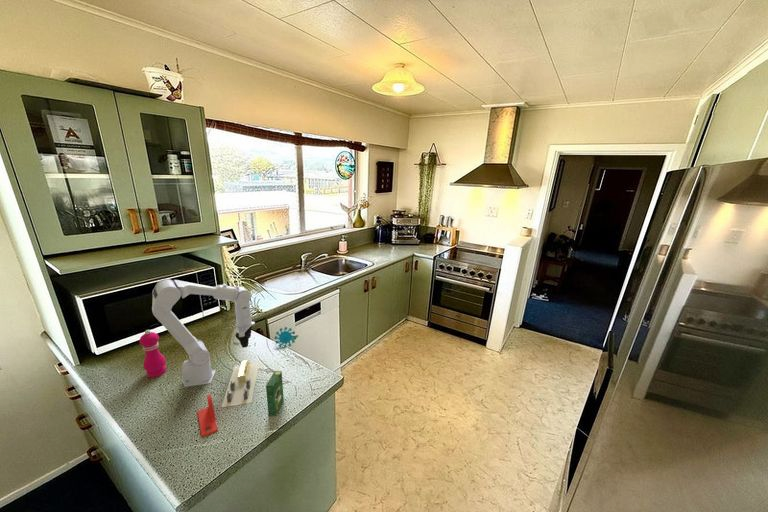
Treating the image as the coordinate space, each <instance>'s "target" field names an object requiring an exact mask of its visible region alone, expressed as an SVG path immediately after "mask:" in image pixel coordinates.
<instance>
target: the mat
mask: <svg viewBox="0 0 768 512" xmlns="http://www.w3.org/2000/svg"><path fill="white" fill-rule="evenodd" d="M240 367H241V364H240V365H239V364H238V365H234V367H233V370H232V372H231V373H232V374H231V376H230V380H229V382H228V385H227V388H226V392H225V395H224V397H223V401H222V404H221V408H226V407H232V406H238V405H246V404H250V403H252V401H253V396H254V393H255V392H254V391H255V388H256V387H255V386H256V383H257V377H258V371H259V367H260V362H257V363H256V362H255V363H250V369H249V373H248V377H247V379H248V378H249V379H250V380H251V386H250V389H248V393H249V395H248V399H246V400H244V395H243V394H244V389H246V382H245V383H238V374H239V370H240ZM231 381H235V386H236V387H235V390H234V391H232V396H233V397H232V400H231V402H227V392H228V391H231V389H230V384H231V383H230V382H231Z"/></svg>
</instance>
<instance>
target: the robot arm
mask: <svg viewBox="0 0 768 512" xmlns="http://www.w3.org/2000/svg"><path fill="white" fill-rule="evenodd" d="M189 295H201V296H212V297H213V298H214V299H215V300H221V301H228V302H229V301H230V302H234V312H235V318H236V329H237V331H238V332H236V333H235V336H234V337H235V338H236V339H237V340H238V341H239V343H240V345H241V348H248V347H249V339H250V338H251V336H252V330H253V329H252V328H253V326H255V324H256V322H255V321H254V320H252V315H251V314H252V312H251V303H250V301H251V298H252V295H251V293H250V292H249V290H247V289H246V288H245V287H243V286H241V285H236V286H232V285H231V286H230V285H227V284H226V283H222V284H217V285H215V286H210V285H205V284H199V283H195V282H189V281H184V280H179V279H173V280H172V279H170V278H169V279H168V278H164V279H161V280H159V281H158V282H157V283H156V284H155V286H154V288H153V289H152V302H151V303H152V306H151V311H152V315H153V316H154V317H155V318H156V320H157V321H158V322H159V323H161V325H162V326H163V328H165V329H166V330H167V331H168V333H169V334H171V336H172V337H173V338H174V339H175V340H176V342H178V343H179V345H181V346H182V348H183V349H184V350H185V352H186V353H187V355H188V356H189V358H188V359H187V360H184V361H183V362H182V366H181V376H182V379H183V380H182V381H183V388H188V387H193V386H202V385H208V384H209V385H210V384H211V383H212V381H213V378H214V376H215V373H216V369H212V363H211V354H210V352H209V350H208V349H207V348H206V346H205V343H204V341H202V340H200V339H197V337H195V336H194V335H193V334H192V333H191V331H189V329H188V328H187V327H186V326H185V325H184V324H183V323H182V321H181V320H180V319H179V318H178V317H177V315H176V314H175V313H174V312H173V311H172V308H173V307H174V305H176V303H177V302H178V301H179V300H180V298H182V299H185V298H186V297H187V296H189Z"/></svg>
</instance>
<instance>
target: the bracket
mask: <svg viewBox="0 0 768 512" xmlns="http://www.w3.org/2000/svg"><path fill="white" fill-rule="evenodd" d="M206 399H207V405H208V407H205V408H202V409H200V410H199V409H198V411H197V417H198V423H199V429H200V435H201V437H208V436H210V435H212V434H214V433H216V432H218V425H217V420H216V416H215V415H216V414H215V410H214V405H213V404H214V403H213V398H212V394H211V393H210V394H207V395H206ZM207 429H208V430H207Z"/></svg>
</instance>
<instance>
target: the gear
mask: <svg viewBox="0 0 768 512" xmlns="http://www.w3.org/2000/svg"><path fill="white" fill-rule="evenodd" d="M283 329H284V330H283ZM292 334H293V335H292ZM297 338H299V334H296V335H295V330H293V329H292V328H291V327H290V328H288V327H286V326H285V327H284V328H279V331H277V332H275V336H274V340H275V344H276V345H277V344H278V347H279V348H282V345H283V349H284V348H285V349H286V348H287V346H288V347H292V344H294V343H295V342H296V339H297ZM287 344H288V345H287Z"/></svg>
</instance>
